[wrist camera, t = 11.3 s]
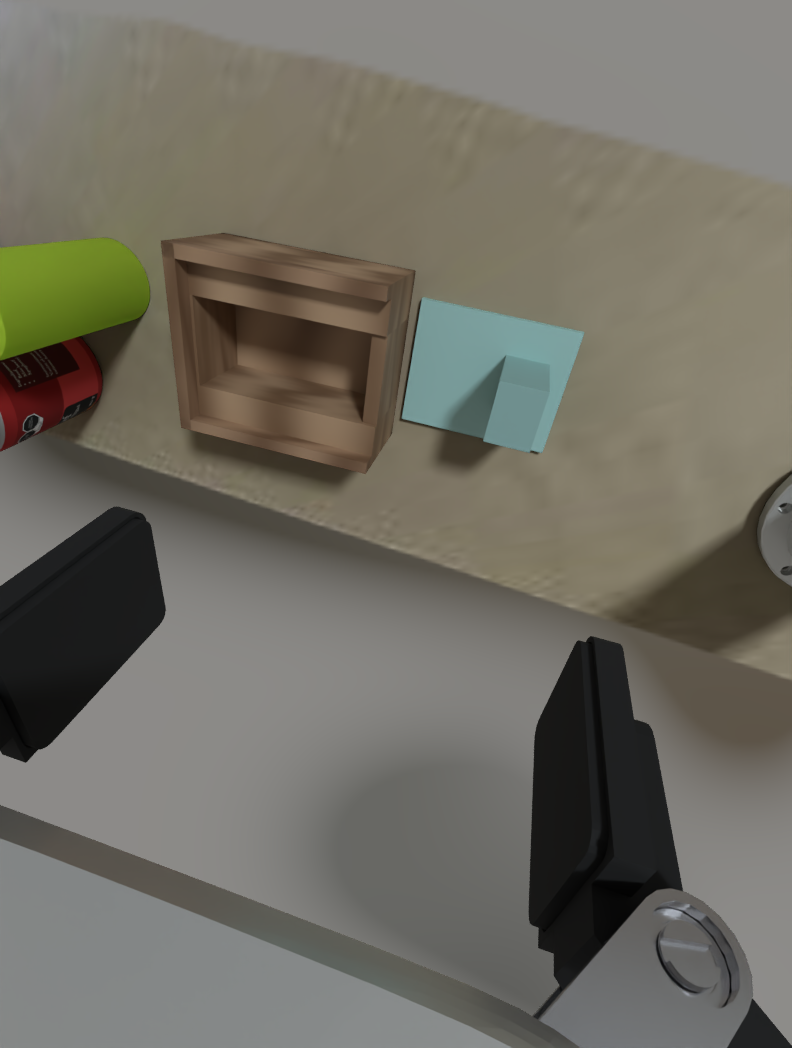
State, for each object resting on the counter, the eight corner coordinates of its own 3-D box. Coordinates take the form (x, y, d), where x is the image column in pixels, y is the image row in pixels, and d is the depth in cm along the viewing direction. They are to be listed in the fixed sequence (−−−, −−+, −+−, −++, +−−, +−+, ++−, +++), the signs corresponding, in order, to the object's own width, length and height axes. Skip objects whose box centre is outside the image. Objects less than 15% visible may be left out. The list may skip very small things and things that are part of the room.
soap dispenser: (150, 343, 42) (-102, 438, 26) (75, 289, 41) (-235, 353, 25) (170, 279, 39) (-104, 342, 22) (90, 219, 38) (-257, 240, 21)
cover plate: (583, 330, 34) (590, 357, 28) (542, 448, 39) (541, 490, 33) (424, 296, 35) (401, 315, 30) (404, 414, 40) (381, 450, 35)
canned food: (47, 405, 48) (-67, 454, 39) (13, 316, 44) (-124, 347, 35) (117, 413, 47) (14, 466, 38) (89, 321, 42) (-34, 356, 33)
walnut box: (415, 270, 34) (388, 286, 28) (391, 433, 41) (365, 473, 35) (224, 233, 36) (160, 240, 30) (231, 395, 43) (181, 427, 37)
